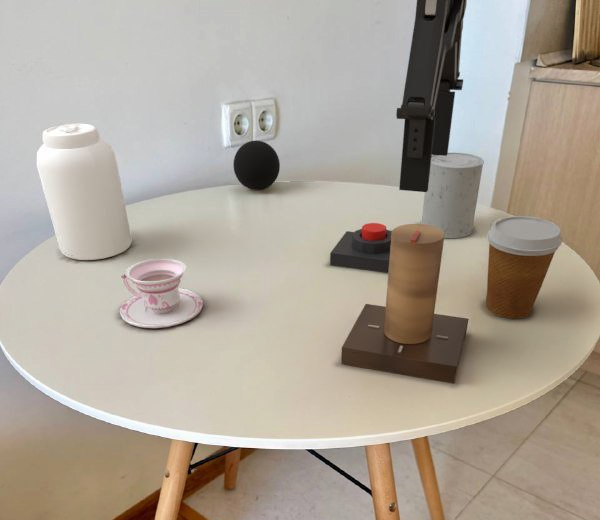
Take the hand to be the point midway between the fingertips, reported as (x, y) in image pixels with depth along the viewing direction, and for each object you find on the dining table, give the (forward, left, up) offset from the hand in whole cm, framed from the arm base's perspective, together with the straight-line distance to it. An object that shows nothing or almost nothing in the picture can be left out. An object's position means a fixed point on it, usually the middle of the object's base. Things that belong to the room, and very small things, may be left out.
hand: (425, 171), depth 63 cm
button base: (+11, -27, -22) cm, 37 cm away
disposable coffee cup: (-12, -15, -23) cm, 30 cm away
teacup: (+36, 0, -23) cm, 43 cm away
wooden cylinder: (0, 0, -20) cm, 20 cm away
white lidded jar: (+59, -17, -23) cm, 65 cm away
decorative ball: (+44, -56, -23) cm, 75 cm away
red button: (+11, -27, -19) cm, 35 cm away
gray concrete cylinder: (+1, -44, -23) cm, 49 cm away
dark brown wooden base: (0, 0, -22) cm, 22 cm away
